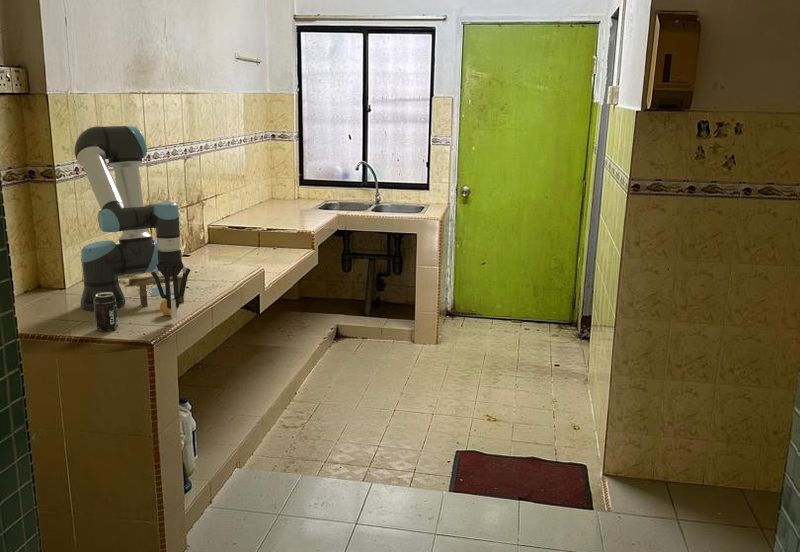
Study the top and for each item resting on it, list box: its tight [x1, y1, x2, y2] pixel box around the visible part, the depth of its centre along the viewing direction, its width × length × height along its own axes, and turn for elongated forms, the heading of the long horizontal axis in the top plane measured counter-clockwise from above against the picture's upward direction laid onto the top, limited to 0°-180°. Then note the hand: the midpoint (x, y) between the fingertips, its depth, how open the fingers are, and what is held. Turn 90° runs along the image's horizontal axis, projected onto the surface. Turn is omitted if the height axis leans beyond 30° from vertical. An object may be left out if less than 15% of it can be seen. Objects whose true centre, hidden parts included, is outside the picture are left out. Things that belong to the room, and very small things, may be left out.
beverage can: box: [93, 292, 119, 332], centre depth 230 cm, size 7×7×12 cm
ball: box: [159, 299, 179, 317], centre depth 247 cm, size 6×6×6 cm
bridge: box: [138, 275, 185, 307], centre depth 260 cm, size 3×15×10 cm, turn 117°
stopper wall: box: [128, 274, 164, 286], centre depth 291 cm, size 16×2×2 cm, turn 117°
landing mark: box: [137, 286, 174, 297], centre depth 277 cm, size 12×12×1 cm
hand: (173, 317), depth 239 cm, fingers closed
